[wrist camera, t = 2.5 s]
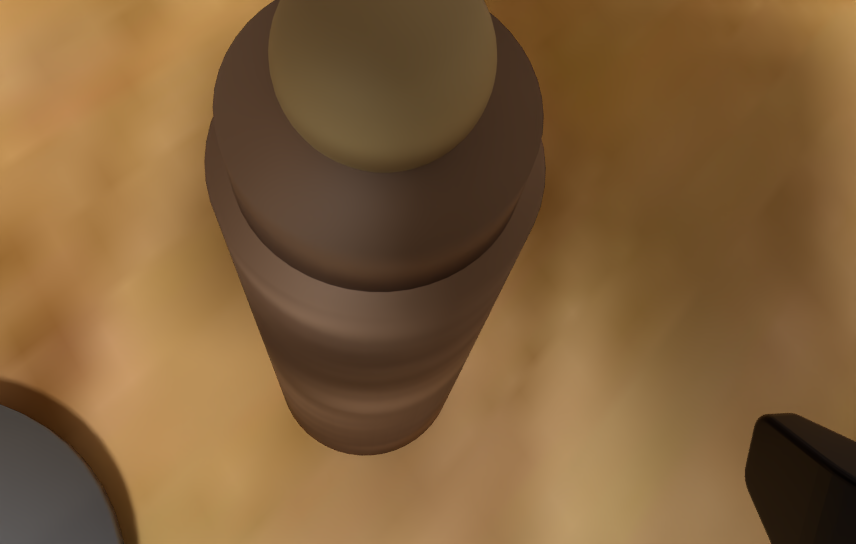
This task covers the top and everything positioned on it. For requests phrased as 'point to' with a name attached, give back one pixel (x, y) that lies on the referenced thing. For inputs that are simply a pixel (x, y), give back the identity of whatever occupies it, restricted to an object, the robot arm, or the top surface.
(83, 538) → the slate coaster
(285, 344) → the pepper mill
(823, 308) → the top surface
